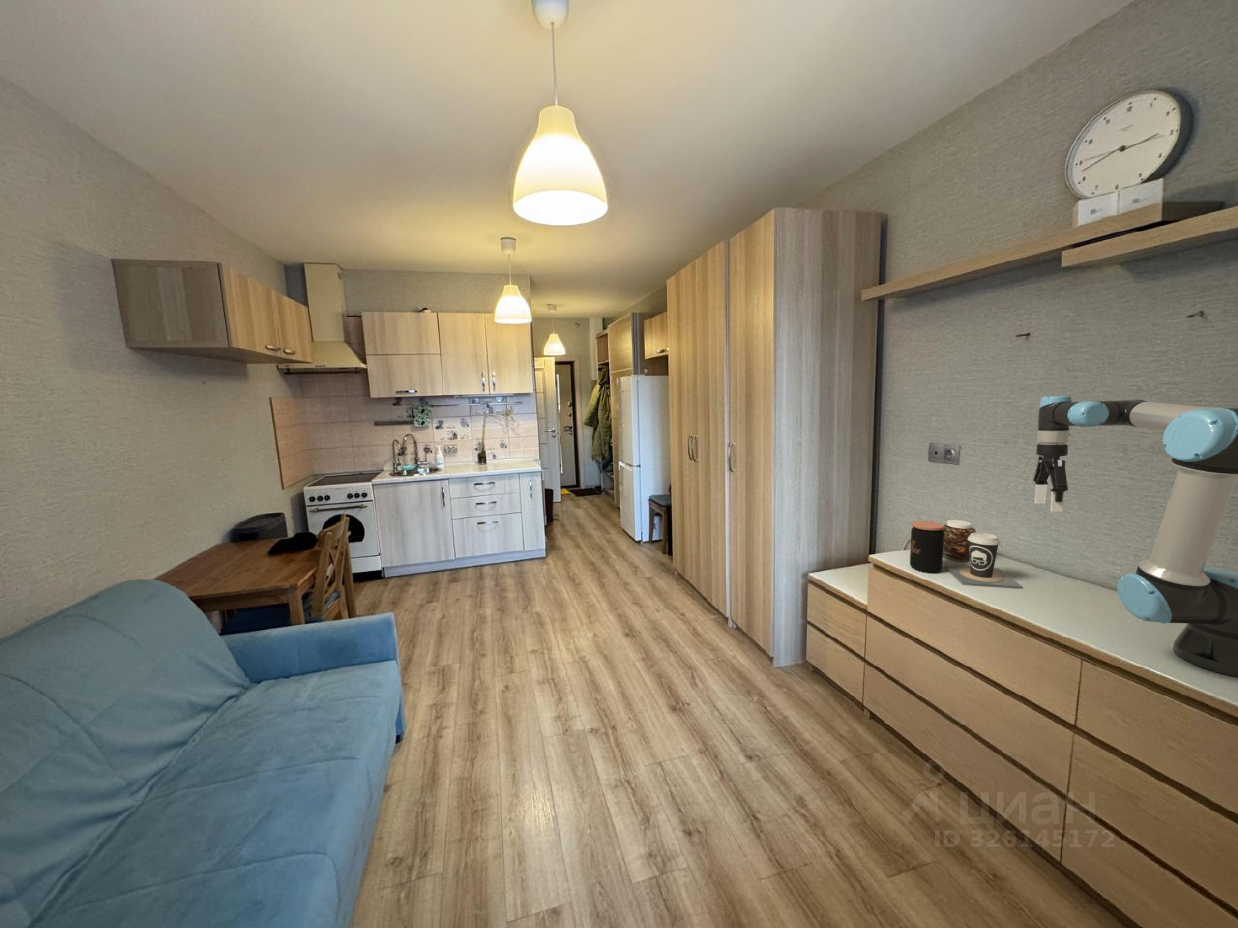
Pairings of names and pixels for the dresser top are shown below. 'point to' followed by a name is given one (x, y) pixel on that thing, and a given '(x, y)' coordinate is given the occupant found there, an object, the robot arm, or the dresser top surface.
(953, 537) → the jar
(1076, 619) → the dresser top surface
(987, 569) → the coffee cup
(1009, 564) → the dresser top surface
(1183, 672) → the dresser top surface
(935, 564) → the coffee jar
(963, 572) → the trivet
